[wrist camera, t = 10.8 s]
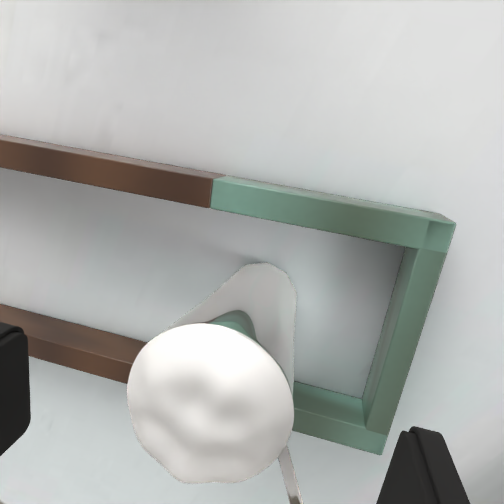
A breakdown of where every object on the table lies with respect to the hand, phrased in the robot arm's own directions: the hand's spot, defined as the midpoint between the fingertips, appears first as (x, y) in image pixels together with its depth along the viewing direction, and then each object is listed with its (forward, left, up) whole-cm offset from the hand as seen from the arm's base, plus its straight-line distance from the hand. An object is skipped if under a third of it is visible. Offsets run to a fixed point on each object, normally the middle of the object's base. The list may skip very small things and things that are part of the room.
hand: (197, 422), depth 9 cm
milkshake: (0, 0, -9) cm, 9 cm away
